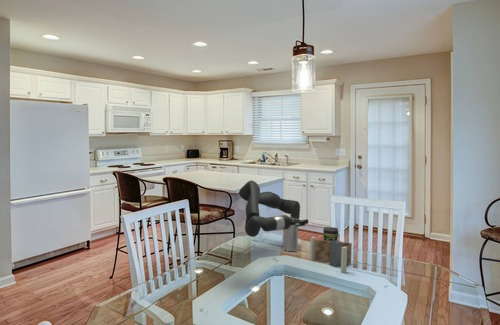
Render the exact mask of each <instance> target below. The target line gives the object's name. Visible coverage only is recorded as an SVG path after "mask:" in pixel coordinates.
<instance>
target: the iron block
mask: <svg viewBox="0 0 500 325" xmlns="http://www.w3.org/2000/svg"><path fill="white" fill-rule="evenodd" d="M343 242H344V241H340V240H338V239H337V240H334V241H330V260H329V261H328V262H329V264H328V265H329V266H331V267H333V268H339V267H340V268H341V251H342V247H343Z"/></svg>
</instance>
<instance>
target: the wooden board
mask: <svg viewBox="0 0 500 325" xmlns="http://www.w3.org/2000/svg"><path fill="white" fill-rule="evenodd" d="M315 240H317V238H316V236H312V237H310V249H309V251H310V253H309V260H310V261H311V262H313V261H316V260H315ZM347 265H348V264H347V247H342V251H341V266H340V273H341V274H345V273H347V270H348V268H347Z"/></svg>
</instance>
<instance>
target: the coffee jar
mask: <svg viewBox="0 0 500 325" xmlns="http://www.w3.org/2000/svg"><path fill="white" fill-rule="evenodd" d="M322 232H323V233H322V234H323V240H325V241H334V240H337V241H338V237H339V229H338V227H332V226H324V228H323V231H322Z"/></svg>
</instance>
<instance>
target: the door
mask: <svg viewBox="0 0 500 325" xmlns="http://www.w3.org/2000/svg"><path fill="white" fill-rule="evenodd" d="M342 242H343V247H347V265H351V264H352V242H346V241H345V242H344V241H342ZM329 260H330V241H325V240H324V239H323V240H322V239H316V240H315V260H314V261H321V262H322V261H323V262H329Z"/></svg>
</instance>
